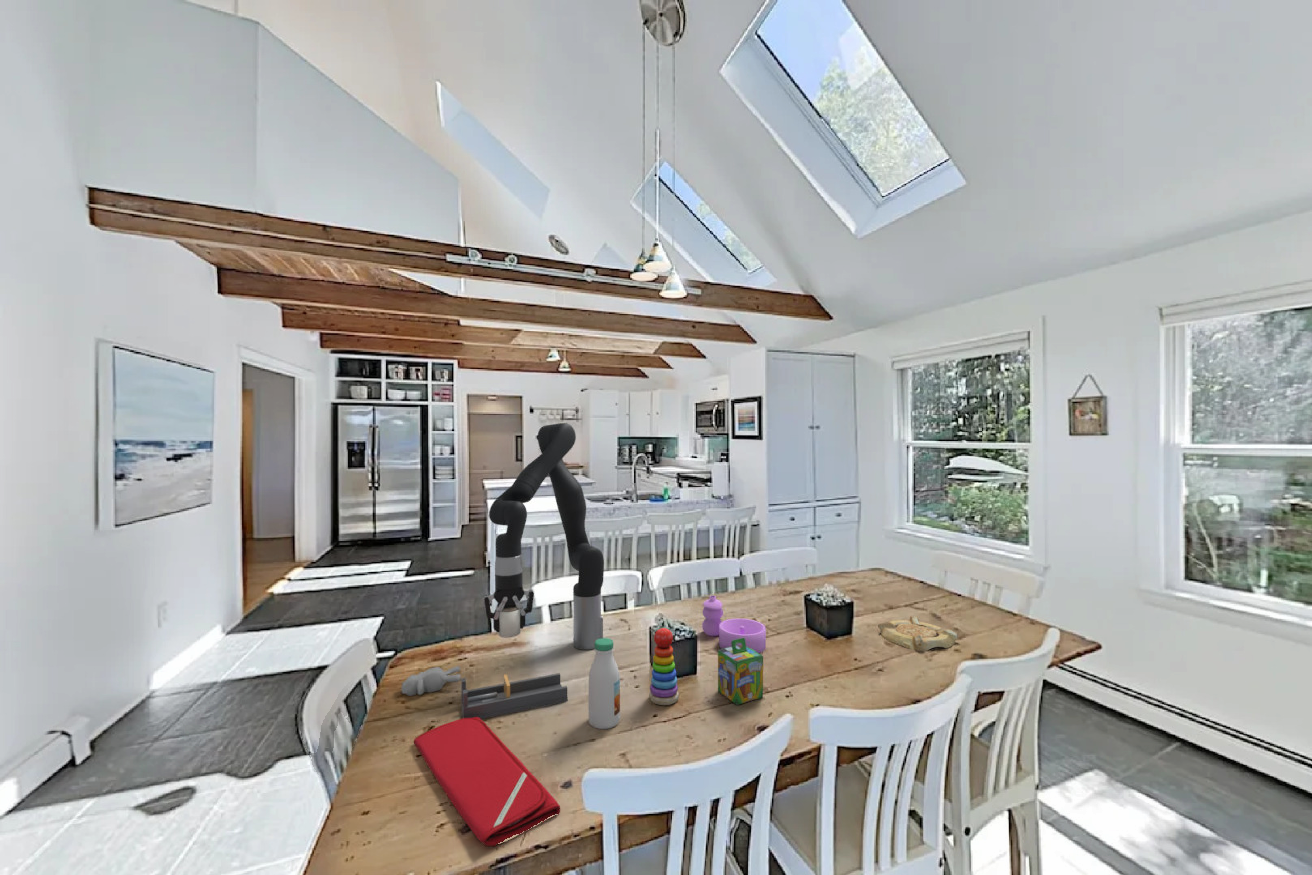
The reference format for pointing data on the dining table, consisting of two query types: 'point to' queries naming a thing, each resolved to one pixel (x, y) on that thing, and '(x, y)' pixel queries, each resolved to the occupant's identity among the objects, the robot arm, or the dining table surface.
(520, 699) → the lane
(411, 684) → the bunny figurine
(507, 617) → the spice jar
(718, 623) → the container set
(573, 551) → the robot arm
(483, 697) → the pusher
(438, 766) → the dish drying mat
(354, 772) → the dining table surface
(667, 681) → the stacking toy
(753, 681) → the chalk box
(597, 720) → the milk bottle
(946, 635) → the ashtray
